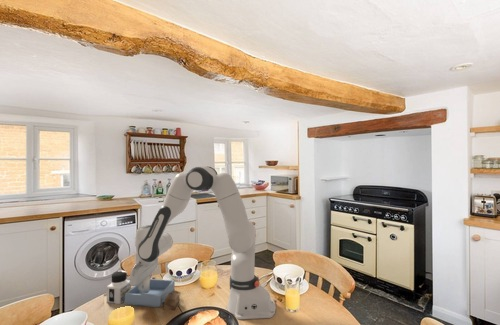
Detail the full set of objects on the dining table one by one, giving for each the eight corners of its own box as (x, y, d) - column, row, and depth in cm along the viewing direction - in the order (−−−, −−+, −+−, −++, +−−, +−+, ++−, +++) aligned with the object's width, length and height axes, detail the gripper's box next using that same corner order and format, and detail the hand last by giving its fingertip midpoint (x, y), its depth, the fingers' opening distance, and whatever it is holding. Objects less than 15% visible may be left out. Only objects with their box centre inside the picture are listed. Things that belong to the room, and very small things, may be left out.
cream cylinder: (151, 289, 123) (151, 275, 123) (146, 294, 118) (146, 279, 118) (142, 288, 124) (142, 274, 124) (136, 293, 119) (136, 279, 119)
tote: (174, 289, 127) (174, 280, 128) (160, 307, 112) (160, 296, 112) (143, 287, 129) (143, 278, 130) (124, 304, 114) (124, 293, 114)
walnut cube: (179, 304, 115) (179, 293, 115) (174, 310, 110) (175, 299, 110) (169, 303, 115) (169, 293, 115) (164, 309, 110) (164, 298, 110)
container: (120, 304, 114) (120, 276, 114) (106, 302, 116) (106, 275, 116) (131, 295, 122) (131, 269, 122) (118, 293, 123) (118, 268, 123)
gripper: (138, 267, 111) (138, 297, 110) (160, 251, 131) (160, 277, 131) (125, 266, 111) (125, 296, 111) (149, 250, 132) (149, 276, 131)
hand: (144, 286), depth 121 cm, fingers closed on cream cylinder, 5 cm apart
